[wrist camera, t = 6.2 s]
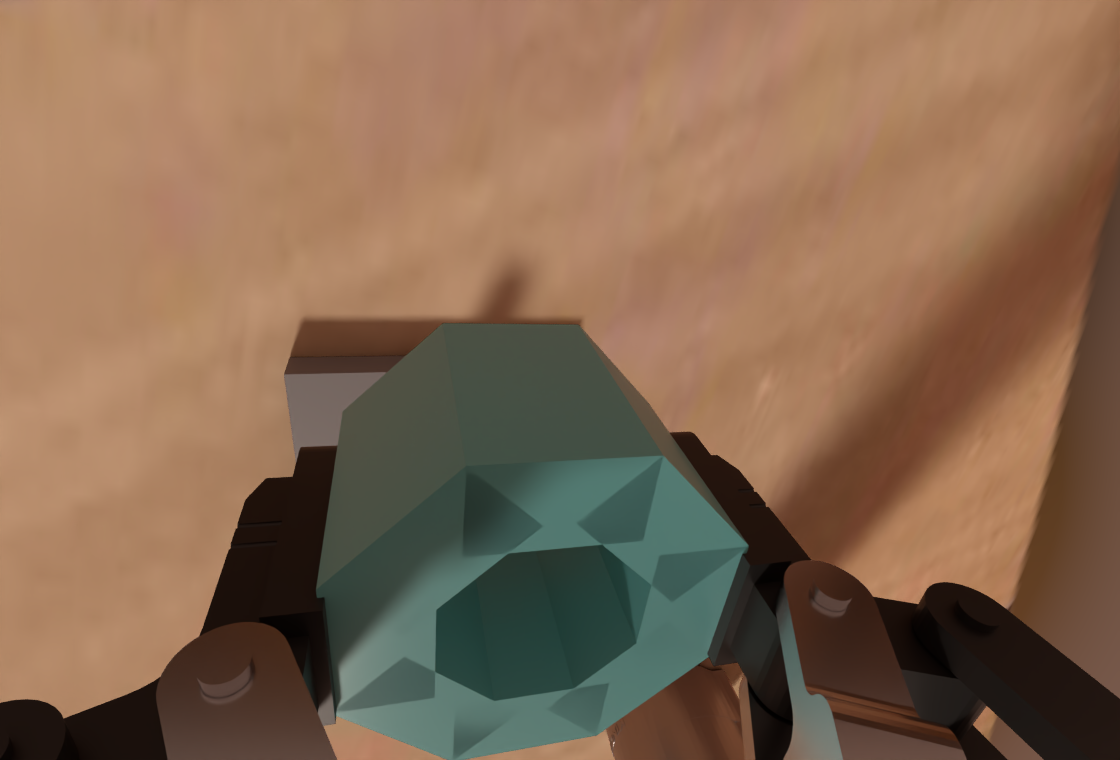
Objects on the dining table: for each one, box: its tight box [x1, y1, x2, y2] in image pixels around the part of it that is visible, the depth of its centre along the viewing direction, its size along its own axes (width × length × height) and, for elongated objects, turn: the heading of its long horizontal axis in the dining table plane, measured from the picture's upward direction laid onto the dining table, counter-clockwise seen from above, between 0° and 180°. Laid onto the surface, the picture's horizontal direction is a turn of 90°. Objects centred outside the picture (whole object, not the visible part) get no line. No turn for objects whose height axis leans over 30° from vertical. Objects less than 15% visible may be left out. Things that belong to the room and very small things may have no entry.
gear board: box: [284, 356, 405, 462], centre depth 27 cm, size 12×18×8 cm, turn 173°
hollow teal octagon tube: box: [316, 323, 749, 760], centre depth 10 cm, size 6×6×4 cm
